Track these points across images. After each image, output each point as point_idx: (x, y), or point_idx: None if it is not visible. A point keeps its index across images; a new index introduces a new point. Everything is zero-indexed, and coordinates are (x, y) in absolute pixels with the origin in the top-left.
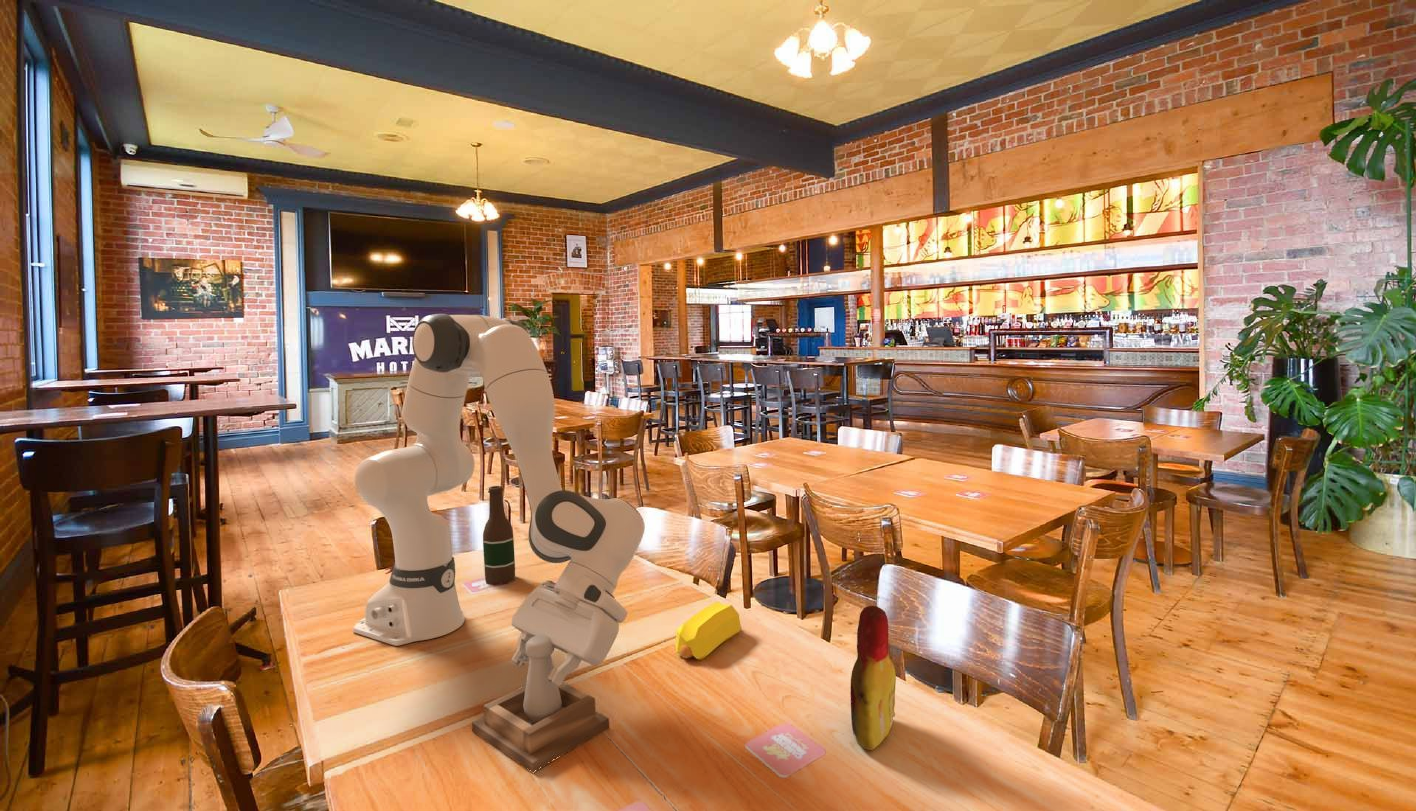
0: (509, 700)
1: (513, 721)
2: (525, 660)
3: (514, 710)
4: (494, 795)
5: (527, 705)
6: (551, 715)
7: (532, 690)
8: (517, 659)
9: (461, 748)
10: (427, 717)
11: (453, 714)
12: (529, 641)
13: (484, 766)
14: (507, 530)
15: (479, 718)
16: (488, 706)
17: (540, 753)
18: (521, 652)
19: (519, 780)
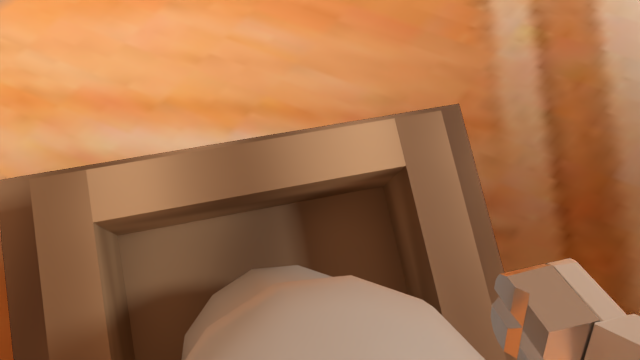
0: (420, 236)
1: (198, 165)
2: (518, 357)
3: (408, 267)
4: (3, 33)
5: (269, 272)
6: (104, 347)
7: (245, 296)
8: (517, 283)
9: (359, 49)
10: (634, 28)
11: (603, 105)
12: (382, 335)
13: (193, 69)
14: None
15: (466, 138)
16: (416, 126)
17: (33, 234)
18: (553, 327)
19: (14, 132)
